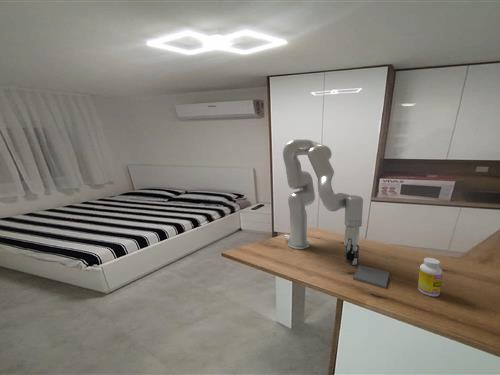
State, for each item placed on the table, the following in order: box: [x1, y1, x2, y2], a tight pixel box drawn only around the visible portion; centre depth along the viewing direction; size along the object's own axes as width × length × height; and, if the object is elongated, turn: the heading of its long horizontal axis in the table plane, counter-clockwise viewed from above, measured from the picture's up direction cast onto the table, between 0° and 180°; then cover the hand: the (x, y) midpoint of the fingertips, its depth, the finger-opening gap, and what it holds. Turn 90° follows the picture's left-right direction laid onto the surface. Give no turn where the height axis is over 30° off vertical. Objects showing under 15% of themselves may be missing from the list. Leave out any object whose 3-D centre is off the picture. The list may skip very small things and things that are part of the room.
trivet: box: [353, 264, 390, 289], centre depth 98 cm, size 12×12×1 cm
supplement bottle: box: [417, 257, 443, 297], centre depth 86 cm, size 7×7×13 cm
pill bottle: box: [344, 243, 360, 266], centre depth 110 cm, size 6×6×11 cm
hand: (351, 257), depth 111 cm, fingers closed on pill bottle, 6 cm apart
